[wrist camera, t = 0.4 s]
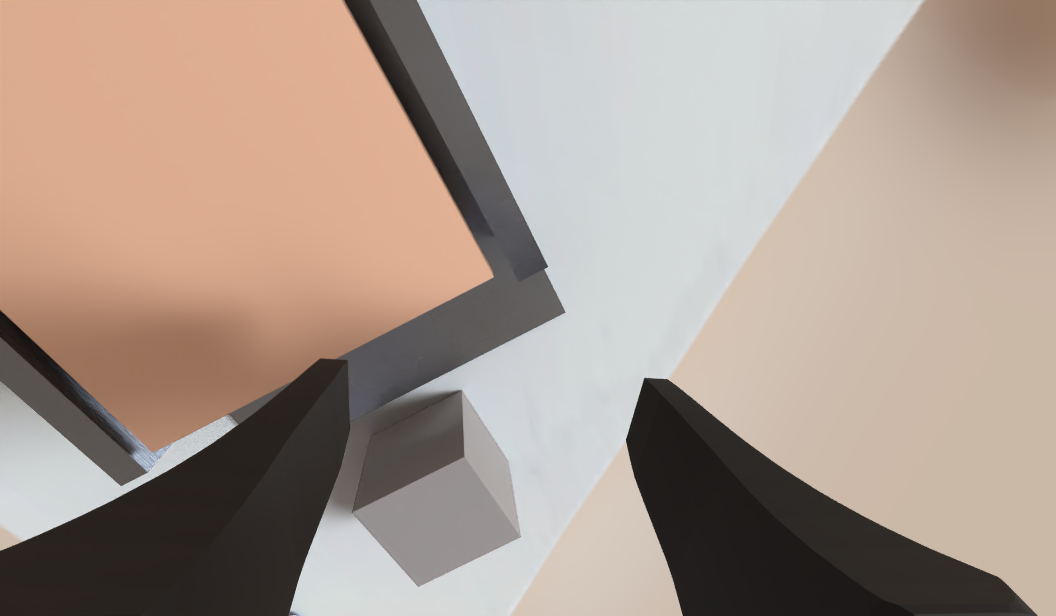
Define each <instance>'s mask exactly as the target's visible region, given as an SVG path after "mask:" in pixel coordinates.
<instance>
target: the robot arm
mask: <svg viewBox="0 0 1056 616" xmlns="http://www.w3.org/2000/svg"><path fill="white" fill-rule="evenodd" d="M349 431H350V413H349V382H348V360H340V359H324V358H320V359H319V360H317V361H316V362H315V363H314V364H313V365H311V366H310V367H309V368H308V369H307V370H305V371H304V372H303V373H302V374H301V375H300V376H298V377H297V378H296V379H295V380H294V381H293V382H291V383H290V384H289V385H288V386H287V387H286V388H284V389H283V390H282V391H281V392H280V393H278V394H277V395H276V396H275V397H273V398H272V399H271V400H270V401H268V402H267V403H266V404H265V405H264V406H262V407H261V408H260V409H259V410H257V411H256V412H255V413H254V414H252V415H251V416H250V417H248V418H247V419H246V420H244V421H243V422H241V423H240V424H239V425H237V426H236V427H235V428H233V429H232V430H231V431H229V432H228V433H226V434H225V435H224V436H222V437H221V438H219V439H218V440H216V441H215V442H214V443H212V444H211V445H209V446H207V447H206V448H204V449H203V450H201V451H200V452H198V453H196V454H195V455H193V456H192V457H190V458H188V459H187V460H185V461H183V462H182V463H180V464H179V465H177V466H175V467H174V468H172V469H170V470H168V471H167V472H165V473H163V474H161V475H159V476H158V477H156V478H154V479H152V480H150V481H148V482H146V483H144V484H143V485H141V486H139V487H137V488H135V489H133V490H131V491H130V492H128V493H126V494H124V495H122V496H120V497H118V498H116V499H115V500H113V501H111V502H109V503H107V504H105V505H103V506H101V507H98V508H96V509H94V510H92V511H90V512H88V513H86V514H84V515H82V516H80V517H78V518H75V519H73V520H71V521H69V522H67V523H64V524H62V525H60V526H58V527H55V528H53V529H51V530H49V531H47V532H44V533H42V534H40V535H38V536H35V537H33V538H30V539H28V540H26V541H23V542H21V543H19V544H16V545H14V546H12V547H9V548H7V549H4V550H1V551H0V616H297V615H289V612H290V608H291V605H292V601H293V598H294V594H295V590H296V587H297V583H298V580H299V577H300V574H301V571H302V568H303V565H304V562H305V559H306V557H307V554H308V551H309V549H310V546H311V544H312V541H313V538H314V536H315V533H316V531H317V528H318V526H319V523H320V520H321V518H322V515H323V513H324V510H325V507H326V505H327V502H328V500H329V497H330V494H331V492H332V489H333V486H334V484H335V481H336V479H337V476H338V473H339V470H340V468H341V464H342V460H343V456H344V452H345V448H346V444H347V439H348V435H349ZM626 443H627V447H628V451H629V456H630V461H631V465H632V469H633V472H634V477H635V479H636V482H637V485H638V488H639V490H640V493H641V496H642V498H643V501H644V503H645V506H646V509H647V511H648V514H649V517H650V519H651V522H652V524H653V527H654V529H655V532H656V534H657V537H658V540H659V542H660V545H661V548H662V550H663V553H664V555H665V558H666V561H667V564H668V566H669V569H670V572H671V575H672V578H673V581H674V585H675V589H676V592H677V596H678V600H679V603H680V607H681V611H682V614H683V616H1037V615H1036V614H1035V613H1034V612H1033V611H1032V609H1031V608H1029V606H1027V604H1026V603H1025V602H1024V601H1023V600H1022V599H1021V598H1020V597H1019V596H1018V595H1017V594H1016V593H1015V592H1014V591H1013V590H1012V589H1011V588H1010V587H1009V586H1008V585H1007V584H1006V583H1005V582H1003V581H1002V580H1001V579H1000V578H999V577H997V576H994V575H992V574H990V573H987V572H984V571H982V570H980V569H978V568H975V567H973V566H970V565H968V564H965V563H963V562H961V561H958V560H956V559H953V558H951V557H949V556H946V555H944V554H941V553H939V552H937V551H934V550H932V549H930V548H927V547H925V546H923V545H921V544H919V543H917V542H915V541H913V540H910V539H908V538H906V537H904V536H902V535H900V534H898V533H896V532H894V531H891V530H889V529H887V528H885V527H883V526H881V525H879V524H877V523H875V522H873V521H872V520H869V519H868V518H866V517H864V516H862V515H860V514H858V513H856V512H855V511H853V510H851V509H849V508H847V507H846V506H844V505H842V504H840V503H838V502H837V501H834V500H833V499H831V498H829V497H828V496H826V495H824V494H823V493H821V492H819V491H817V490H816V489H814V488H812V487H811V486H810V485H808V484H806V483H805V482H803V481H802V480H800V479H799V478H797V477H795V476H794V475H792V474H791V473H789V472H787V471H786V470H785V469H783V468H782V467H780V466H779V465H777V464H776V463H774V462H773V461H771V460H770V459H769V458H767V457H766V456H765V455H763V454H762V453H760V452H759V451H758V450H756V449H755V448H754V447H752V446H751V445H749V444H748V443H747V442H745V441H744V440H743V439H742V438H740V437H739V436H738V435H736V434H735V433H734V432H733V431H731V430H730V429H729V428H728V427H726V426H725V425H724V424H723V423H721V422H720V421H719V420H718V419H717V418H715V417H714V416H713V415H712V414H710V413H709V412H708V411H707V410H706V409H704V408H703V407H702V406H701V405H700V404H698V403H697V402H696V401H695V400H693V399H692V398H691V397H690V396H688V395H687V394H686V393H685V392H684V391H682V390H681V389H680V388H679V387H677V386H676V385H675V384H673V383H672V382H670V381H669V380H668V379H653V378H644V381H643V385H642V388H641V391H640V395H639V398H638V401H637V405H636V408H635V411H634V415H633V418H632V422H631V425H630V428H629V432H628V435H627V438H626Z"/></svg>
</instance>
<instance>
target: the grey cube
mask: <svg viewBox="0 0 1056 616" xmlns="http://www.w3.org/2000/svg"><path fill="white" fill-rule="evenodd" d="M352 513H353V514H354V515H355V517H356V518H357V519H358V520H359V521H360V522H361V523H362V524H363V526H364V527H365V528H366V529H367V530H368V531H369V532H370V533H371V534H372V536H373V537H374V538H375V539H376V540H377V541H378V542H379V543H380V545H381V546H382V547H383V548H384V549H385V550H386V551H387V552H388V553H389V555H390V556H391V557H392V558H393V559H394V560H395V561H396V562H397V564H398V565H399V566H400V567H401V568H402V569H403V570H404V571H405V572H406V574H407V575H408V576H409V577H410V578H411V579H412V580H413V581H414V583H415V584H416V585H417V586H418V587H419V586H421V585H423V584H425V583H427V582H429V581H431V580H433V579H435V578H437V577H440V576H442V575H444V574H446V573H448V572H450V571H452V570H454V569H456V568H458V567H460V566H462V565H464V564H466V563H468V562H470V561H472V560H474V559H477V558H479V557H481V556H483V555H485V554H487V553H489V552H491V551H493V550H495V549H497V548H499V547H501V546H503V545H505V544H507V543H509V542H512V541H514V540H516V539H518V538H520V537H521V535H520V529H519V523H518V516H517V510H516V504H515V498H514V492H513V486H512V480H511V474H510V468H509V462H508V460H507V458H506V457H505V455H504V454H503V452H502V451H501V449H500V447H499V446H498V444H497V443H496V441H495V440H494V438H493V437H492V435H491V434H490V432H489V431H488V429H487V428H486V426H485V425H484V423H483V421H482V420H481V418H480V417H479V415H478V414H477V412H476V411H475V409H474V408H473V406H472V405H471V403H470V402H469V400H468V399H467V397H466V395H465V394H464V392H463V391H462V390H461V391H459V392H457V393H455V394H453V395H451V396H449V397H447V398H445V399H443V400H441V401H439V402H437V403H435V404H433V405H431V406H429V407H427V408H425V409H423V410H421V411H419V412H417V413H415V414H413V415H411V416H409V417H407V418H405V419H403V420H401V421H399V422H397V423H395V424H393V425H391V426H390V427H388V428H386V429H384V430H382V431H380V432H378V433H376V434H374V435H372V436H371V437H370V441H369V445H368V449H367V453H366V458H365V462H364V466H363V470H362V474H361V478H360V482H359V486H358V490H357V495H356V499H355V503H354V507H353V511H352Z"/></svg>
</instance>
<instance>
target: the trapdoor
mask: <svg viewBox="0 0 1056 616" xmlns="http://www.w3.org/2000/svg"><path fill="white" fill-rule="evenodd" d="M493 277H494V276H493V272H492V268H491V266H490V264H489V262H488V260H487V259H486V257H485V255H484V253H483V251H482V249H481V248H480V246H479V244H478V242H477V240H476V239H475V237H474V235H473V233H472V231H471V229H470V228H469V226H468V224H467V222H466V220H465V218H464V217H463V215H462V213H461V211H460V209H459V208H458V206H457V204H456V202H455V200H454V198H453V197H452V195H451V193H450V191H449V189H448V187H447V186H446V184H445V182H444V180H443V178H442V177H441V175H440V173H439V171H438V169H437V167H436V166H435V164H434V162H433V160H432V158H431V156H430V155H429V153H428V151H427V149H426V147H425V146H424V144H423V142H422V140H421V138H420V136H419V135H418V133H417V131H416V129H415V127H414V125H413V124H412V122H411V120H410V118H409V116H408V115H407V113H406V111H405V109H404V107H403V105H402V104H401V102H400V100H399V98H398V96H397V94H396V93H395V91H394V89H393V87H392V85H391V84H390V82H389V80H388V78H387V76H386V74H385V73H384V71H383V69H382V67H381V65H380V63H379V62H378V60H377V58H376V56H375V54H374V53H373V51H372V49H371V47H370V45H369V43H368V42H367V40H366V38H365V36H364V34H363V32H362V31H361V29H360V27H359V25H358V23H357V22H356V20H355V18H354V16H353V14H352V12H351V11H350V9H349V7H348V5H347V3H346V1H345V0H0V310H1V311H2V312H3V313H4V314H5V315H6V316H7V317H8V318H10V319H11V320H12V321H13V322H14V323H15V324H16V325H17V326H18V327H19V328H20V329H21V330H22V331H23V332H24V333H26V334H27V335H28V336H29V337H30V338H31V339H32V340H33V341H34V342H35V343H36V344H37V345H38V346H39V347H40V348H41V349H43V350H44V351H45V352H46V353H47V354H48V355H49V356H50V357H51V358H52V359H53V360H54V361H55V362H56V363H57V364H59V365H60V366H61V367H62V368H63V369H64V370H65V371H66V372H67V373H68V374H69V375H70V376H71V377H72V378H73V379H75V380H76V381H77V382H78V383H79V384H80V385H81V386H82V387H83V388H84V389H85V390H86V391H87V392H88V393H89V394H90V395H92V396H93V397H94V398H95V399H96V400H97V401H98V402H99V403H100V404H101V405H102V406H103V407H104V408H105V409H106V410H108V411H109V412H110V413H111V414H112V415H113V416H114V417H115V418H116V419H117V420H118V421H119V422H120V423H121V424H122V425H124V426H125V427H126V428H127V429H128V430H129V431H130V432H131V433H132V434H133V435H134V436H135V437H136V438H137V439H138V440H139V441H141V442H142V443H143V444H144V445H145V446H146V447H147V448H148V449H149V450H150V451H151V452H152V453H154V452H156V451H157V450H159V449H161V448H163V447H165V446H167V445H169V444H171V443H173V442H175V441H177V440H179V439H181V438H183V437H185V436H187V435H189V434H190V433H192V432H194V431H196V430H198V429H200V428H202V427H204V426H206V425H208V424H210V423H212V422H214V421H216V420H218V419H220V418H222V417H223V416H225V415H227V414H229V413H231V412H233V411H235V410H237V409H239V408H241V407H243V406H245V405H247V404H249V403H251V402H253V401H255V400H256V399H258V398H260V397H262V396H264V395H266V394H268V393H270V392H272V391H274V390H276V389H278V388H280V387H282V386H284V385H286V384H288V383H289V382H291V381H293V380H295V379H296V378H297V377H298V376H300V375H301V374H302V373H303V372H304V371H305V370H307V369H308V368H309V367H310V366H311V365H313V364H314V363H315V362H316V361H317V360H319V359H320V358H324V359H336V358H338V357H340V356H342V355H344V354H346V353H348V352H350V351H352V350H354V349H355V348H357V347H359V346H361V345H363V344H365V343H367V342H369V341H371V340H373V339H375V338H377V337H379V336H381V335H383V334H385V333H387V332H388V331H390V330H392V329H394V328H396V327H398V326H400V325H402V324H404V323H406V322H408V321H410V320H412V319H414V318H416V317H418V316H420V315H422V314H423V313H425V312H427V311H429V310H431V309H433V308H435V307H437V306H439V305H441V304H443V303H445V302H447V301H449V300H451V299H453V298H455V297H456V296H458V295H460V294H462V293H464V292H466V291H468V290H470V289H472V288H474V287H476V286H478V285H480V284H482V283H484V282H486V281H488V280H489V279H491V278H493Z"/></svg>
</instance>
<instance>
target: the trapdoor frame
mask: <svg viewBox="0 0 1056 616" xmlns="http://www.w3.org/2000/svg"><path fill="white" fill-rule="evenodd" d="M345 1H346V3H347V5H348V7H349V9H350V11H351V12H352V14H353V16H354V18H355V20H356V22H357V23H358V25H359V27H360V29H361V31H362V32H363V34H364V36H365V38H366V40H367V42H368V43H369V45H370V47H371V49H372V51H373V53H374V54H375V56H376V58H377V60H378V62H379V63H380V65H381V67H382V69H383V71H384V73H385V74H386V76H387V78H388V80H389V82H390V84H391V85H392V87H393V89H394V91H395V93H396V94H397V96H398V98H399V100H400V102H401V104H402V105H403V107H404V109H405V111H406V113H407V115H408V116H409V118H410V120H411V122H412V124H413V125H414V127H415V129H416V131H417V133H418V135H419V136H420V138H421V140H422V142H423V144H424V146H425V147H426V149H427V151H428V153H429V155H430V156H431V158H432V160H433V162H434V164H435V166H436V167H437V169H438V171H439V173H440V175H441V177H442V178H443V180H444V182H445V184H446V186H447V187H448V189H449V191H450V193H451V195H452V197H453V198H454V200H455V202H456V204H457V206H458V208H459V209H460V211H461V213H462V215H463V217H464V218H465V220H466V222H467V224H468V226H469V228H470V229H471V231H472V233H473V235H474V237H475V239H476V240H477V242H478V244H479V246H480V248H481V249H482V251H483V253H484V255H485V257H486V259H487V260H488V262H489V264H490V266H491V268H492V272H493V276H494V277H493V278H491V279H489V280H488V281H486V282H484V283H482V284H480V285H478V286H476V287H474V288H472V289H470V290H468V291H466V292H464V293H462V294H460V295H458V296H456V297H455V298H453V299H451V300H449V301H447V302H445V303H443V304H441V305H439V306H437V307H435V308H433V309H431V310H429V311H427V312H425V313H423V314H422V315H420V316H418V317H416V318H414V319H412V320H410V321H408V322H406V323H404V324H402V325H400V326H398V327H396V328H394V329H392V330H390V331H388V332H387V333H385V334H383V335H381V336H379V337H377V338H375V339H373V340H371V341H369V342H367V343H365V344H363V345H361V346H359V347H357V348H355V349H354V350H352V351H350V352H348V353H346V354H344V355H342V356H340V357H338V358H336V359H340V360H348V382H349V413H350V422H351V421H353V420H355V419H357V418H359V417H361V416H363V415H365V414H367V413H368V412H370V411H372V410H374V409H376V408H378V407H380V406H382V405H384V404H386V403H388V402H390V401H392V400H394V399H396V398H398V397H400V396H402V395H404V394H406V393H408V392H410V391H412V390H414V389H416V388H418V387H420V386H422V385H424V384H426V383H428V382H429V381H431V380H433V379H435V378H437V377H439V376H441V375H443V374H445V373H447V372H449V371H451V370H453V369H455V368H457V367H459V366H461V365H463V364H465V363H467V362H469V361H471V360H473V359H475V358H477V357H479V356H481V355H483V354H485V353H487V352H489V351H491V350H492V349H494V348H496V347H498V346H500V345H502V344H504V343H506V342H508V341H510V340H512V339H514V338H516V337H518V336H520V335H522V334H524V333H526V332H528V331H530V330H532V329H534V328H536V327H538V326H540V325H542V324H544V323H546V322H548V321H550V320H552V319H553V318H555V317H557V316H559V315H561V314H563V313H565V310H564V308H563V306H562V304H561V302H560V300H559V298H558V296H557V294H556V292H555V290H554V288H553V286H552V284H551V282H550V280H549V278H548V276H547V274H546V272H545V270H544V269H545V268H547V267H548V266H547V264H546V262H545V260H544V258H543V256H542V254H541V251H540V249H539V247H538V245H537V243H536V241H535V239H534V237H533V235H532V233H531V231H530V229H529V227H528V225H527V223H526V221H525V219H524V217H523V215H522V213H521V211H520V209H519V207H518V205H517V203H516V201H515V199H514V197H513V195H512V193H511V191H510V189H509V187H508V185H507V183H506V181H505V179H504V176H503V174H502V172H501V170H500V168H499V166H498V164H497V162H496V160H495V158H494V156H493V154H492V152H491V150H490V148H489V146H488V144H487V142H486V140H485V138H484V136H483V134H482V132H481V130H480V128H479V126H478V124H477V122H476V120H475V118H474V116H473V114H472V112H471V110H470V108H469V106H468V104H467V102H466V99H465V97H464V95H463V93H462V91H461V89H460V87H459V85H458V83H457V81H456V79H455V77H454V75H453V73H452V71H451V69H450V67H449V65H448V63H447V61H446V59H445V57H444V55H443V53H442V51H441V49H440V47H439V45H438V43H437V41H436V39H435V37H434V35H433V33H432V31H431V29H430V27H429V24H428V22H427V20H426V18H425V16H424V14H423V12H422V10H421V8H420V6H419V4H418V2H417V0H345ZM0 381H1V382H2V383H3V384H5V385H6V386H7V387H8V388H9V389H10V390H11V391H13V392H14V393H15V394H16V395H17V396H18V397H20V398H21V399H22V400H23V401H24V402H25V403H26V404H28V405H29V406H30V407H31V408H32V409H33V410H34V411H36V412H37V413H38V414H39V415H40V416H41V417H42V418H44V419H45V420H46V421H47V422H48V423H49V424H50V425H52V426H53V427H54V428H55V429H56V430H57V431H59V432H60V433H61V434H62V435H63V436H64V437H65V438H67V439H68V440H69V441H70V442H71V443H72V444H73V445H75V446H76V447H77V448H78V449H79V450H80V451H81V452H83V453H84V454H85V455H86V456H87V457H88V458H89V459H91V460H92V461H93V462H94V463H95V464H96V465H98V466H99V467H100V468H101V469H102V470H103V471H104V472H106V473H107V474H108V475H109V476H110V477H111V478H112V479H114V480H115V481H116V482H117V483H118V484H119V485H120V486H122V485H124V484H126V483H128V482H130V481H132V480H134V479H136V478H138V477H140V476H142V475H144V474H146V473H148V472H149V471H150V469H151V468H152V467H153V466H154V465H155V463H156V462H157V461H158V460H159V459H160V457H161V456H162V455H163V454H164V453H165V451H166V450H167V449H168V448H169V447H170V445H171V444H172V443H171V444H169V445H167V446H165V447H163V448H161V449H159V450H157V451H156V452H154V453H152V452H151V451H150V450H149V449H148V448H147V447H146V446H145V445H144V444H143V443H142V442H141V441H139V440H138V439H137V438H136V437H135V436H134V435H133V434H132V433H131V432H130V431H129V430H128V429H127V428H126V427H125V426H124V425H122V424H121V423H120V422H119V421H118V420H117V419H116V418H115V417H114V416H113V415H112V414H111V413H110V412H109V411H108V410H106V409H105V408H104V407H103V406H102V405H101V404H100V403H99V402H98V401H97V400H96V399H95V398H94V397H93V396H92V395H90V394H89V393H88V392H87V391H86V390H85V389H84V388H83V387H82V386H81V385H80V384H79V383H78V382H77V381H76V380H75V379H73V378H72V377H71V376H70V375H69V374H68V373H67V372H66V371H65V370H64V369H63V368H62V367H61V366H60V365H59V364H57V363H56V362H55V361H54V360H53V359H52V358H51V357H50V356H49V355H48V354H47V353H46V352H45V351H44V350H43V349H41V348H40V347H39V346H38V345H37V344H36V343H35V342H34V341H33V340H32V339H31V338H30V337H29V336H28V335H27V334H26V333H24V332H23V331H22V330H21V329H20V328H19V327H18V326H17V325H16V324H15V323H14V322H13V321H12V320H11V319H10V318H8V317H7V316H6V315H5V314H4V313H3V312H2V311H1V310H0ZM293 381H294V380H293ZM293 381H291V382H293ZM291 382H289V383H288V384H286V385H284V386H282V387H280V388H278V389H276V390H274V391H272V392H270V393H268V394H266V395H264V396H262V397H260V398H258V399H256V400H255V401H253V402H251V403H249V404H247V405H245V406H243V407H241V408H239V409H237V410H235V411H233V412H231V413H229V414H230V415H231V416H232V417H233V418H234V419H235V420H236V421H237V423H238V424H240V423H241V422H243V421H244V420H246V419H247V418H248V417H250V416H251V415H252V414H254V413H255V412H256V411H257V410H259V409H260V408H261V407H262V406H264V405H265V404H266V403H267V402H268V401H270V400H271V399H272V398H273V397H275V396H276V395H277V394H278V393H280V392H281V391H282V390H283V389H284V388H286V387H287V386H288V385H289V384H290V383H291Z"/></svg>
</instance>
